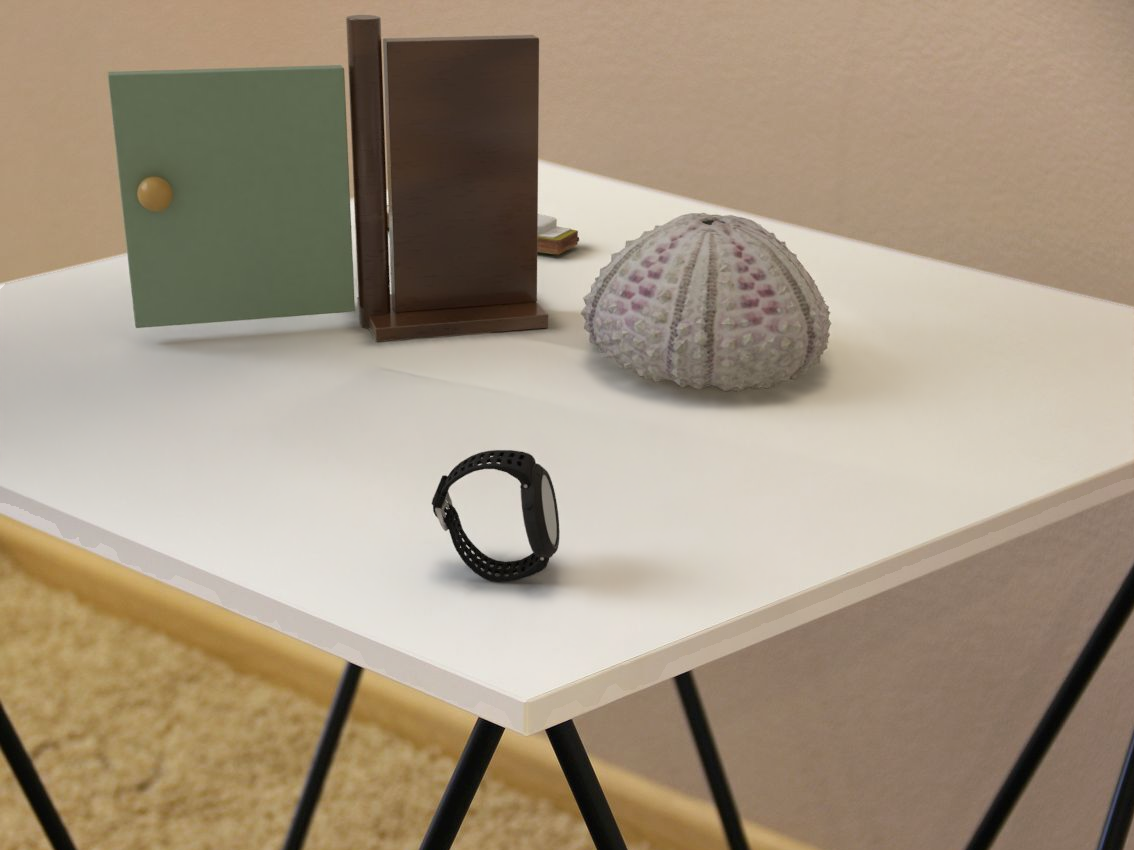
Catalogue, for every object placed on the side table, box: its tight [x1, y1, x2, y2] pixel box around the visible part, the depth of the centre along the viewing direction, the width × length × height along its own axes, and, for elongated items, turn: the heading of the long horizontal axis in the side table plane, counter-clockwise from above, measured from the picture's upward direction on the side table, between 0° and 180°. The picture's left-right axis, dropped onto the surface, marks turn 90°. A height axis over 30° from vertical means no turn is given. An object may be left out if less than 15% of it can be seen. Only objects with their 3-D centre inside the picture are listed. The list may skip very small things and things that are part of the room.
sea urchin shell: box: [580, 212, 832, 393], centre depth 81 cm, size 13×14×8 cm
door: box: [107, 64, 356, 329], centre depth 81 cm, size 12×3×14 cm, turn 108°
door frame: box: [345, 14, 549, 342], centre depth 85 cm, size 10×6×17 cm, turn 108°
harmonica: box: [387, 204, 580, 255], centre depth 104 cm, size 15×3×2 cm, turn 64°
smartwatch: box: [431, 449, 560, 583], centre depth 60 cm, size 4×5×5 cm
